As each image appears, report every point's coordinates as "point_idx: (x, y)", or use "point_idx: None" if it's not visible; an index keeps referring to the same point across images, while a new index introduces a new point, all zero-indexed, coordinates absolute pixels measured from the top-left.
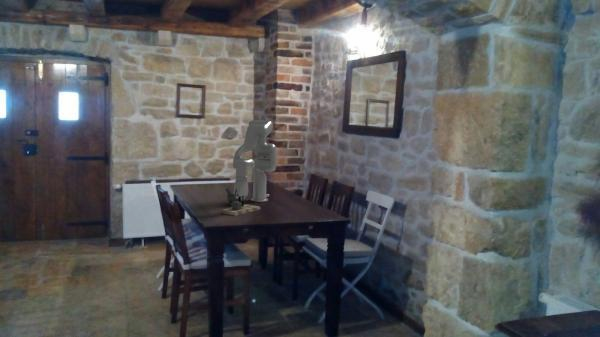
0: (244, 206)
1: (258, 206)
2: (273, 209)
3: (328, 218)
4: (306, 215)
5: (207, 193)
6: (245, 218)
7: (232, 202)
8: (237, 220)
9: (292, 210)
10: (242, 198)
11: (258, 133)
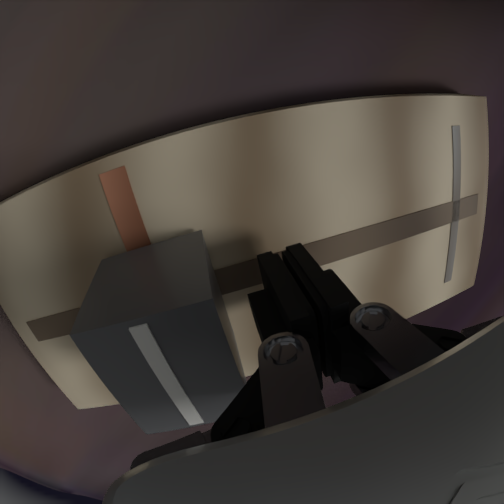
0: (394, 191)
1: (466, 279)
2: (483, 313)
3: None
4: None
5: None
6: (130, 455)
7: (82, 346)
8: (64, 457)
9: None
10: (371, 378)
11: None
